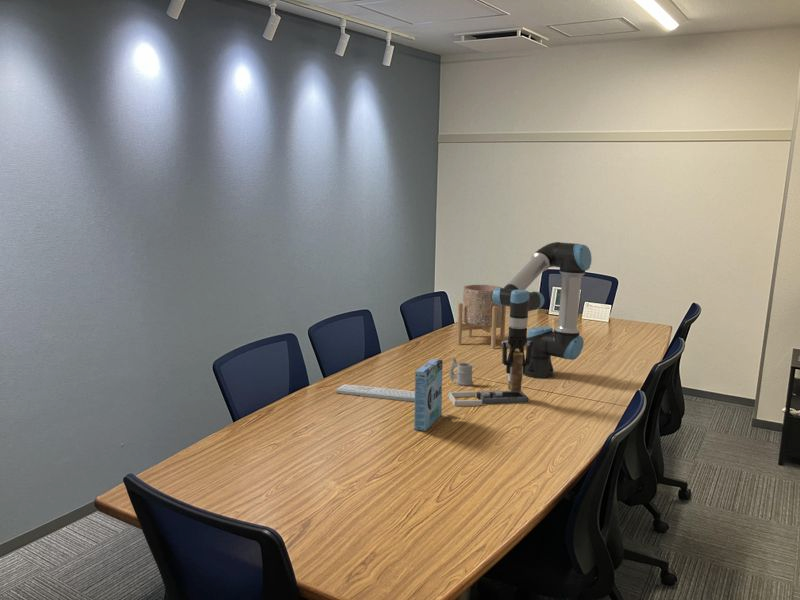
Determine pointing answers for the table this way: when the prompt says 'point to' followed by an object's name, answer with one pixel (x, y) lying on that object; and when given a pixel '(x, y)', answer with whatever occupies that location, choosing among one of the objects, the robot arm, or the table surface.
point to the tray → (464, 402)
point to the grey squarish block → (484, 394)
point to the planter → (480, 312)
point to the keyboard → (377, 392)
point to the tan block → (516, 372)
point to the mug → (462, 373)
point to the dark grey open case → (504, 398)
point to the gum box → (428, 394)
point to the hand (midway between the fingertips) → (515, 380)
